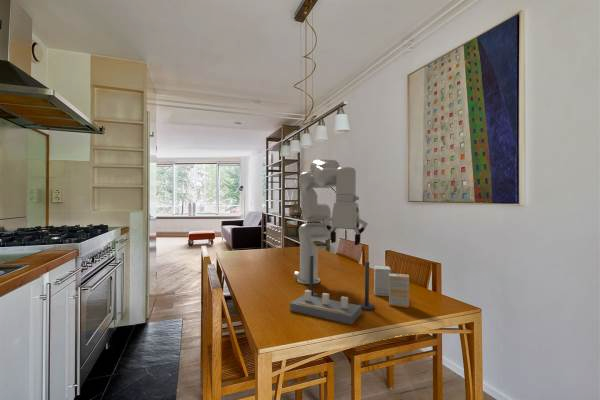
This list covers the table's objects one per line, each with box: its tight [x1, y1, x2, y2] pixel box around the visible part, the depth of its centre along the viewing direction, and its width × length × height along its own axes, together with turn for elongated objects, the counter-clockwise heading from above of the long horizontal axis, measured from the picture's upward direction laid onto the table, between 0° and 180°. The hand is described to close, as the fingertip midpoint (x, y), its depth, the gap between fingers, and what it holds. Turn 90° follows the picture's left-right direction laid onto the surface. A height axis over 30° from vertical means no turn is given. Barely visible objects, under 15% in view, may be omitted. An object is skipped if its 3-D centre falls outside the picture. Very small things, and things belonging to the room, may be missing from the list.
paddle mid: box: [321, 292, 330, 305], centre depth 118 cm, size 2×2×4 cm
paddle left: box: [304, 289, 311, 301], centre depth 122 cm, size 2×2×4 cm
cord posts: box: [309, 256, 375, 311], centre depth 130 cm, size 32×6×19 cm, turn 61°
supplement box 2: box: [388, 272, 410, 309], centre depth 127 cm, size 8×5×13 cm, turn 71°
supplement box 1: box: [373, 265, 392, 297], centre depth 142 cm, size 7×7×13 cm
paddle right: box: [340, 295, 349, 309], centre depth 114 cm, size 2×2×4 cm
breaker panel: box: [289, 294, 363, 325], centre depth 118 cm, size 26×12×3 cm, turn 61°
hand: (345, 243), depth 114 cm, fingers open, 9 cm apart
